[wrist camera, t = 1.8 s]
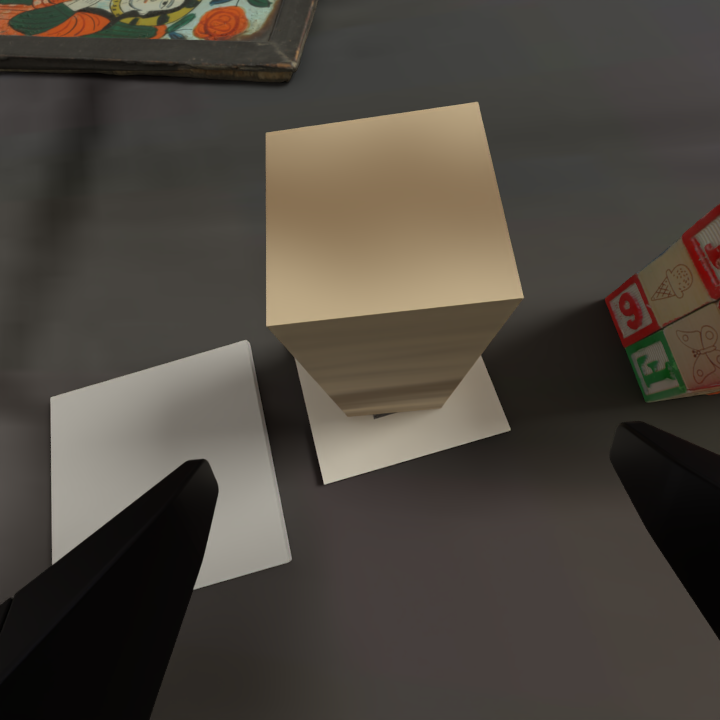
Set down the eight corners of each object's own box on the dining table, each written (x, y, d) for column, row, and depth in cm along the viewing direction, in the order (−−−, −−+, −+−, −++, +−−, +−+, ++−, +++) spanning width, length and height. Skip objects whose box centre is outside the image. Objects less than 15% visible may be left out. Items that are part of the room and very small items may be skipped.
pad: (291, 559, 18) (288, 562, 18) (63, 625, 18) (52, 630, 18) (249, 343, 22) (246, 339, 21) (59, 399, 22) (50, 397, 21)
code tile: (508, 431, 19) (511, 430, 19) (325, 484, 19) (324, 484, 19) (444, 270, 22) (445, 266, 22) (286, 316, 22) (284, 314, 22)
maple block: (441, 408, 19) (523, 297, 7) (347, 416, 20) (266, 326, 7) (428, 321, 21) (477, 102, 8) (341, 330, 21) (265, 133, 9)
